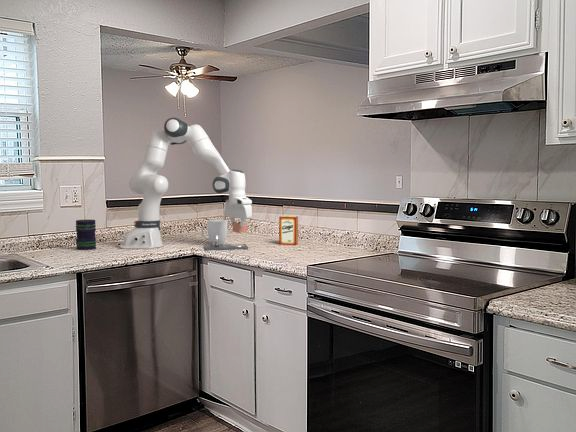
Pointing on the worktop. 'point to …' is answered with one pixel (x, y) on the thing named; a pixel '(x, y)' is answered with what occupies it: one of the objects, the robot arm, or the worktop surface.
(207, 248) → the base
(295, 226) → the baking soda box
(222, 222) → the mug
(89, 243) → the storage jar
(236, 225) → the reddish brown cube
